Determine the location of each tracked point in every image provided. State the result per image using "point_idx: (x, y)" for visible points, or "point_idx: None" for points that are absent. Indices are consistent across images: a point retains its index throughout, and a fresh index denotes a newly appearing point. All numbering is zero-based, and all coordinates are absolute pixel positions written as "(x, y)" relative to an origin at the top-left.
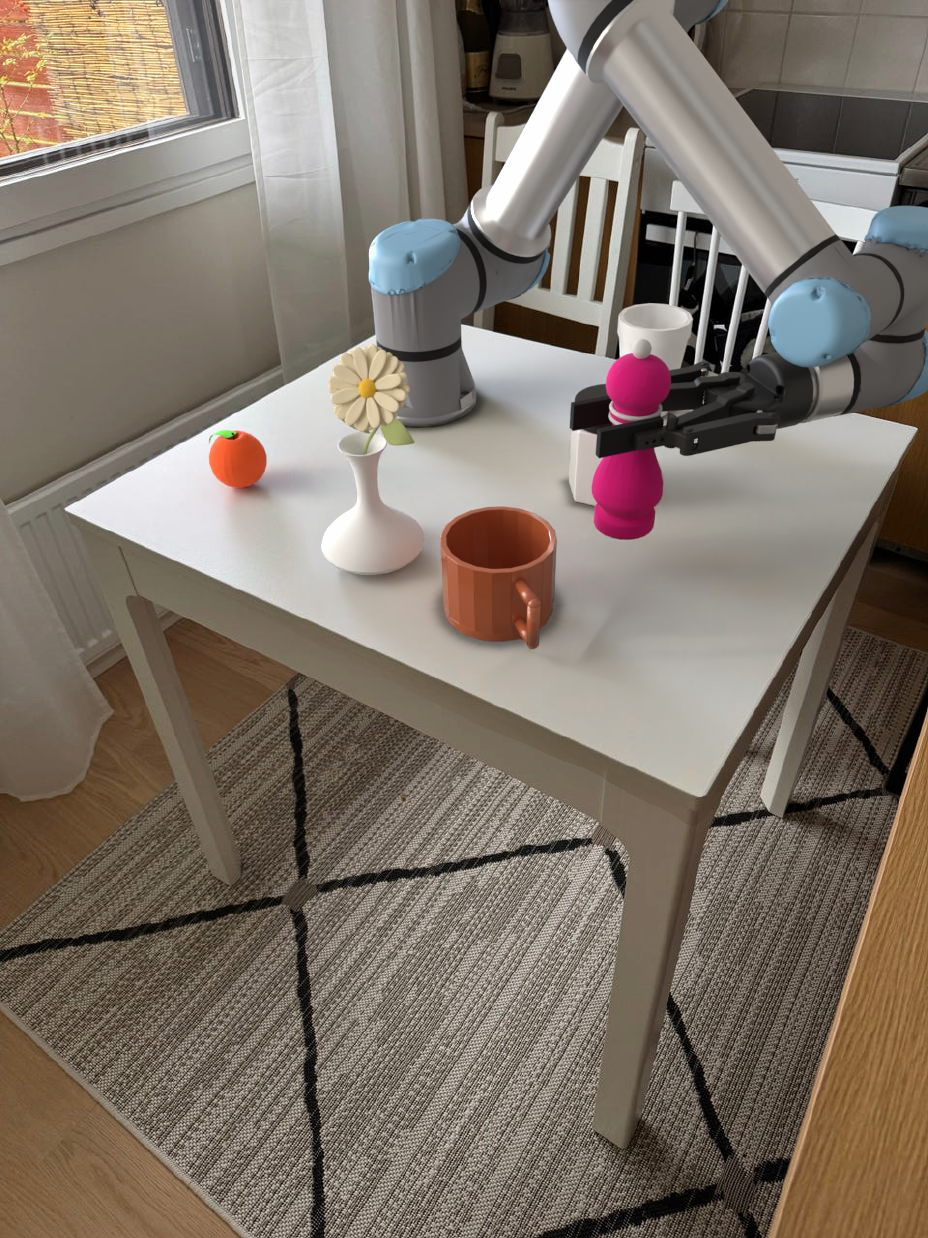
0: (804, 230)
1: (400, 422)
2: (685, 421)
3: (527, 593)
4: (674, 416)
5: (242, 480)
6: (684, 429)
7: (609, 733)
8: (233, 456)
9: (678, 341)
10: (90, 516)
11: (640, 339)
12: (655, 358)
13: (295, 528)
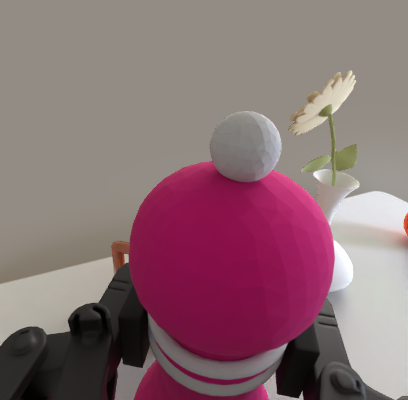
0: None
1: (319, 157)
2: (62, 370)
3: (127, 242)
4: (82, 314)
5: (405, 227)
6: (38, 332)
7: (16, 292)
8: None
9: None
10: (375, 191)
11: (259, 114)
12: (215, 199)
13: (351, 245)
